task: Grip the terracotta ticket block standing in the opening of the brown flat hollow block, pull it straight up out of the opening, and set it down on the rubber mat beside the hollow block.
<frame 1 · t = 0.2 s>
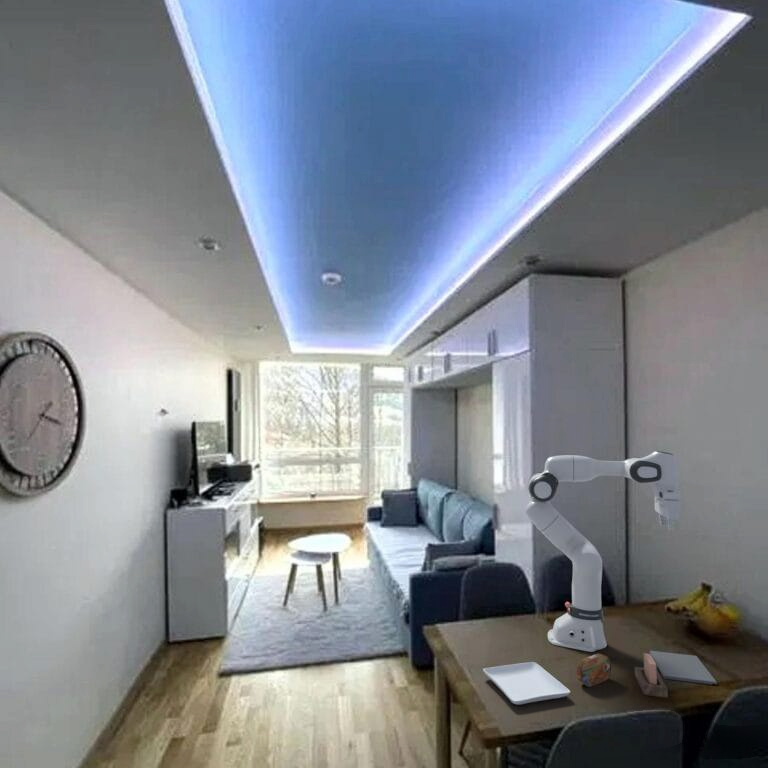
hand: (666, 527, 198), 48 cm above the table, fingers open, 8 cm apart
salad plate: (525, 690, 167), on the table
rubber mat: (681, 668, 181), on the table
ticket: (650, 672, 169), in the brown flat hollow block
brown flat hollow block: (650, 686, 169), on the table
tin: (594, 682, 171), on the table
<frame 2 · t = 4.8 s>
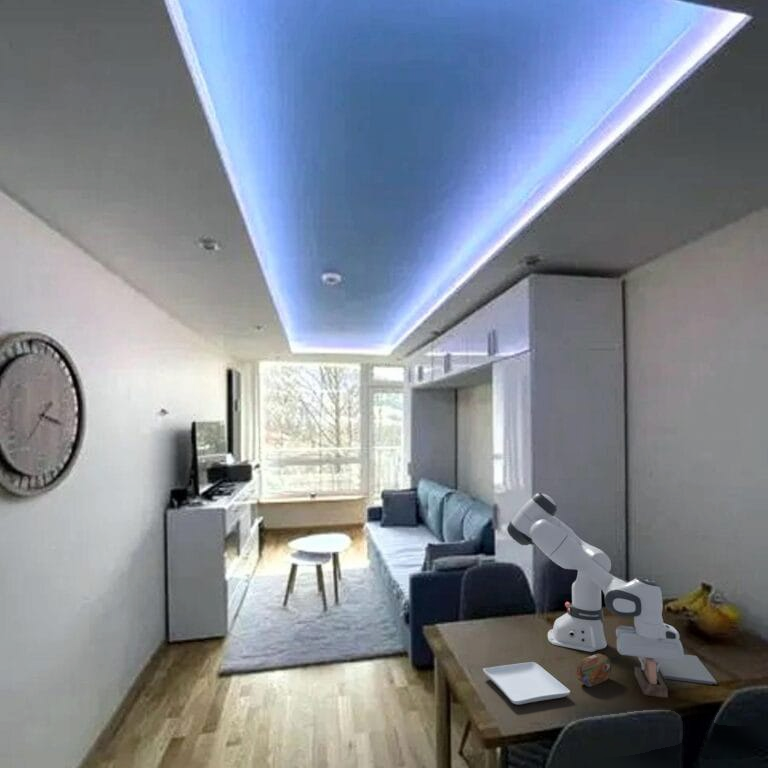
hand: (650, 670, 169), 5 cm above the table, fingers closed on ticket, 2 cm apart
ticket: (650, 672, 169), in the brown flat hollow block, touching gripper
everything else where it was.
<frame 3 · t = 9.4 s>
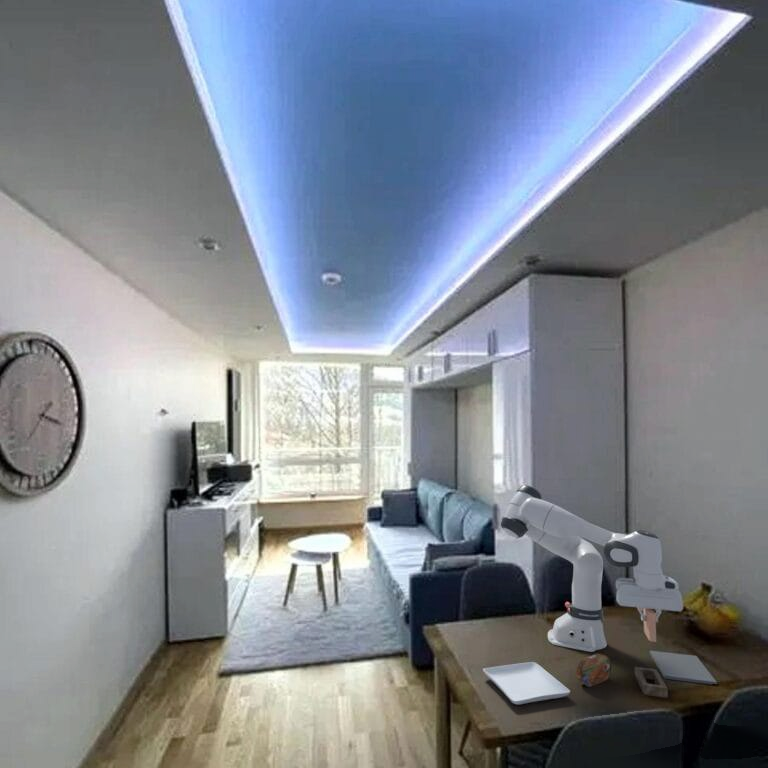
hand: (649, 621, 171), 21 cm above the table, fingers closed on ticket, 2 cm apart
ticket: (649, 623, 171), point 20 cm above the table, touching gripper
everything else where it was.
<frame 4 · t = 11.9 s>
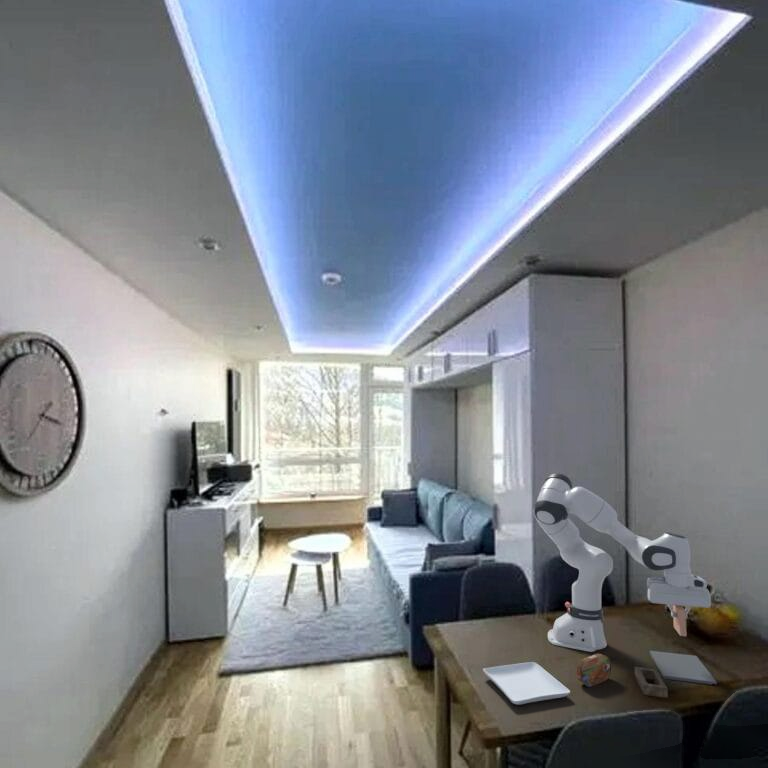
hand: (679, 617, 183), 18 cm above the table, fingers closed on ticket, 2 cm apart
ticket: (679, 618, 183), point 17 cm above the table, touching gripper
everything else where it was.
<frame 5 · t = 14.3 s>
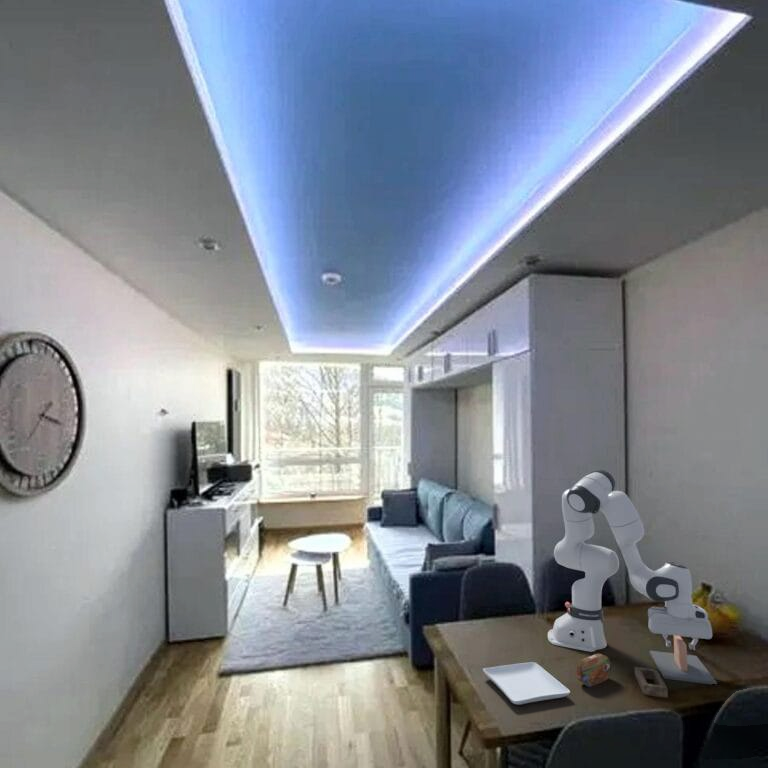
hand: (680, 647, 182), 7 cm above the table, fingers open, 6 cm apart
ticket: (680, 652, 182), on the rubber mat, point 6 cm above the table
everything else where it was.
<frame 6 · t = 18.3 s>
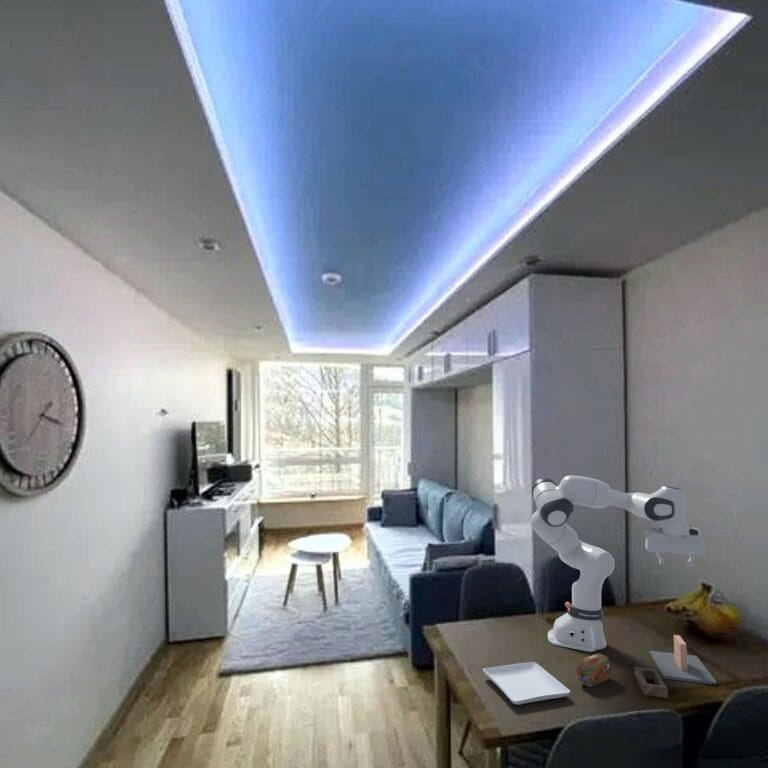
hand: (675, 564, 193), 34 cm above the table, fingers open, 8 cm apart
nothing on the table moved.
at the end: ticket inside the target area on the rubber mat (0.1 cm from its centre), point 5.5 cm above the rubber mat's base; ticket moved 22.0 cm from its start; the gripper is holding nothing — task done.
